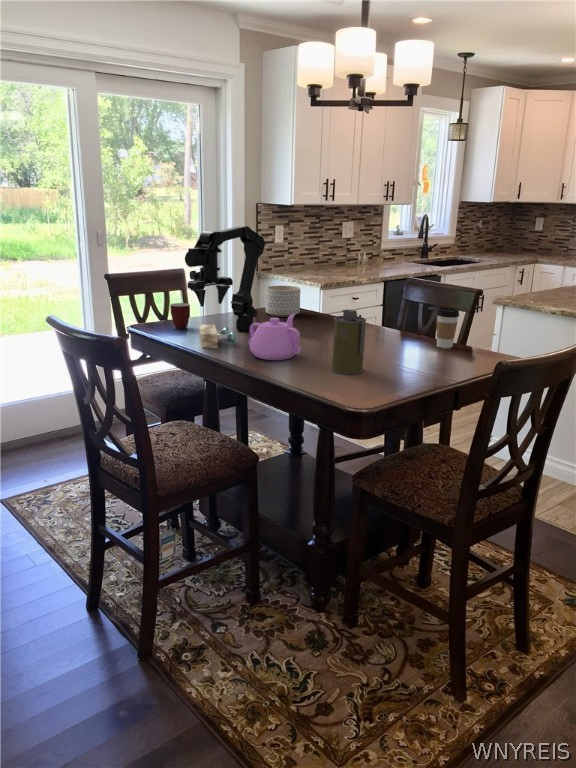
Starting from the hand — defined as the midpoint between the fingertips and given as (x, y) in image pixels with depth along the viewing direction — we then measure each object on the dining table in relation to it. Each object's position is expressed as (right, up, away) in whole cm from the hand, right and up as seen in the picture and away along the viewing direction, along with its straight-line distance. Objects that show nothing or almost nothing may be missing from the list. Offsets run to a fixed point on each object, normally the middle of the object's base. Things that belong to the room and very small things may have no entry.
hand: (211, 305), depth 236 cm
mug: (-15, -8, +19) cm, 25 cm away
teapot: (+26, -21, -19) cm, 38 cm away
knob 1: (+3, -13, +1) cm, 13 cm away
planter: (+28, +2, +54) cm, 61 cm away
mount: (-1, -15, -4) cm, 15 cm away
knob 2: (+5, -15, -7) cm, 18 cm away
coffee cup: (+91, -16, -1) cm, 93 cm away
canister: (+50, -27, -36) cm, 67 cm away
